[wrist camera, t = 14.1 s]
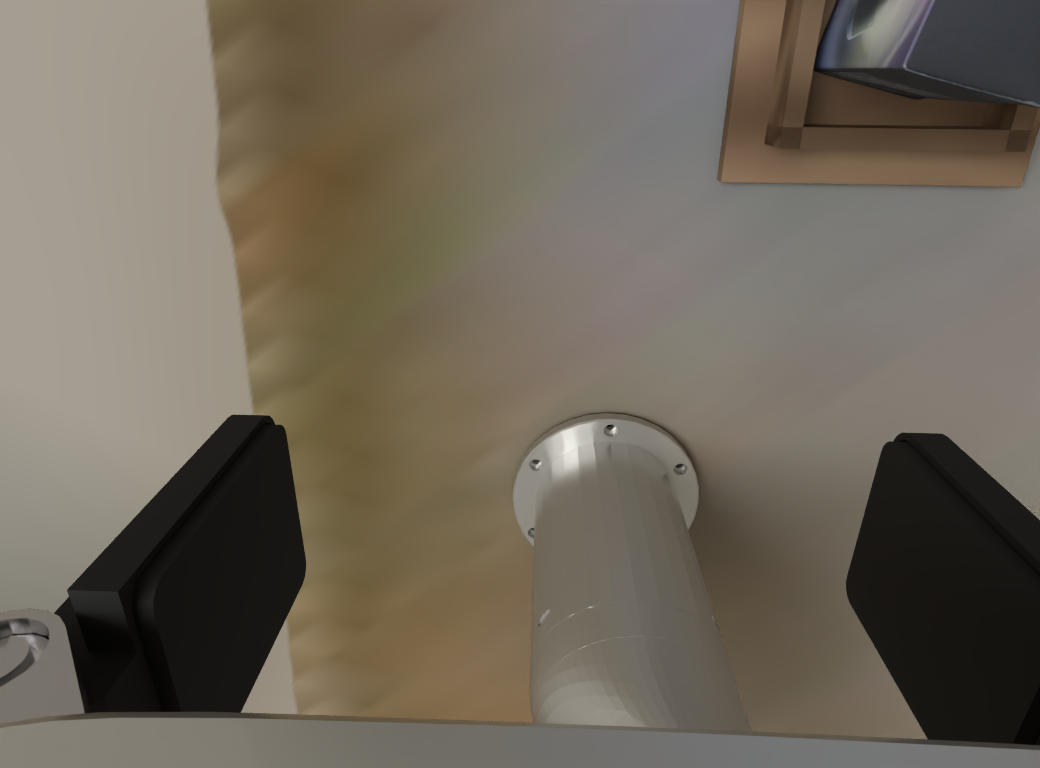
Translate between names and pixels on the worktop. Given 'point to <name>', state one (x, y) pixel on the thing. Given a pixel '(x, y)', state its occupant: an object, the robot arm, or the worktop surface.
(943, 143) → the brown shallow box
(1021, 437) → the worktop surface
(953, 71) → the small box
